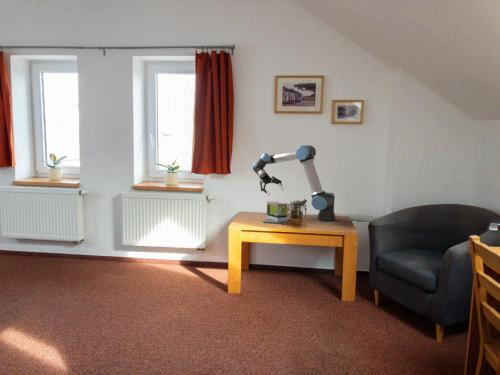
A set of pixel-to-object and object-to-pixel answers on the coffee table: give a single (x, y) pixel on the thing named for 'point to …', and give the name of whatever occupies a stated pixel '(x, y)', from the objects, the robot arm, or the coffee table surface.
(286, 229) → the coffee table surface
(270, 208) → the tea box
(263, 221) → the rubber mat
